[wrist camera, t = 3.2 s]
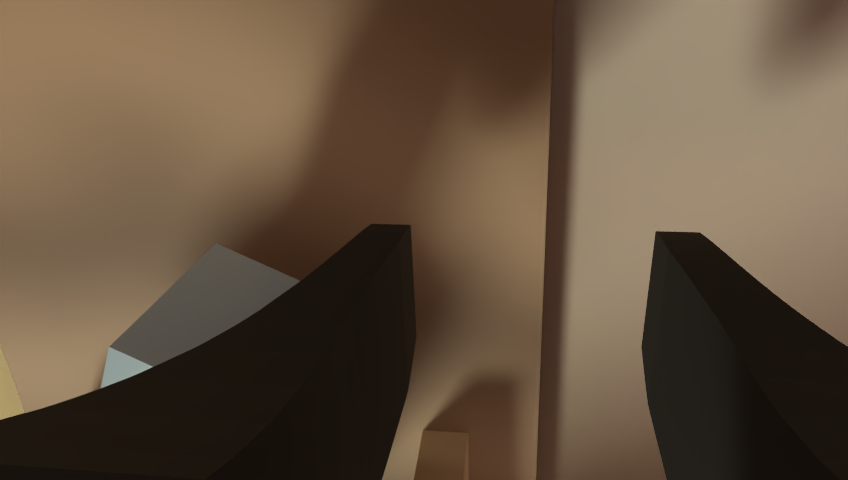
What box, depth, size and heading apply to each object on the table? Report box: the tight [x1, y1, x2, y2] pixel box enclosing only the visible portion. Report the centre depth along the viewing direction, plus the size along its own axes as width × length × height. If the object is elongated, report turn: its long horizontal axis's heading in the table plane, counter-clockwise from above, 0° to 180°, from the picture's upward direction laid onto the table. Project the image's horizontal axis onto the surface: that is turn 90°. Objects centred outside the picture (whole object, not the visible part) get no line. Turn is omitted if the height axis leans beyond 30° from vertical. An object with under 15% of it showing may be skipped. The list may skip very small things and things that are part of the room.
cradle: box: [0, 0, 554, 480], centre depth 15 cm, size 18×12×3 cm, turn 2°
